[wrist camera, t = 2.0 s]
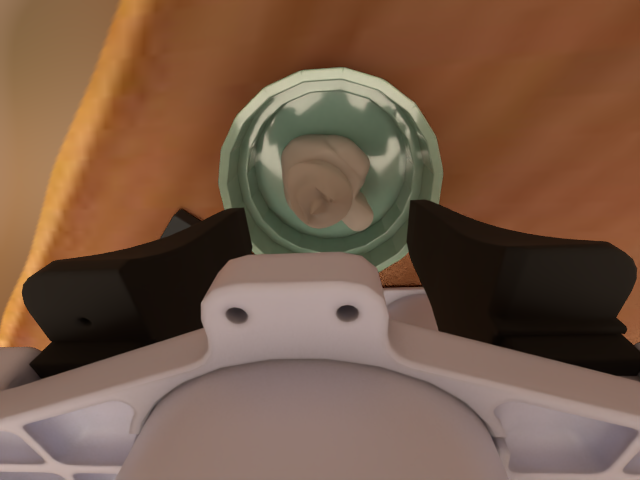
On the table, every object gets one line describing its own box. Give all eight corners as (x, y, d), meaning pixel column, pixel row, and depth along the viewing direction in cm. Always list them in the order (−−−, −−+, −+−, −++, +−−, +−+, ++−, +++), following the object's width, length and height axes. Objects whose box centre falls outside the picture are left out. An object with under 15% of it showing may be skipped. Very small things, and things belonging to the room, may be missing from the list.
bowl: (411, 244, 23) (428, 280, 19) (257, 249, 23) (242, 284, 19) (430, 60, 17) (460, 57, 13) (223, 76, 17) (191, 78, 14)
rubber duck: (321, 103, 18) (313, 123, 11) (393, 177, 20) (426, 236, 13) (265, 168, 20) (228, 220, 13) (336, 229, 22) (337, 303, 15)
